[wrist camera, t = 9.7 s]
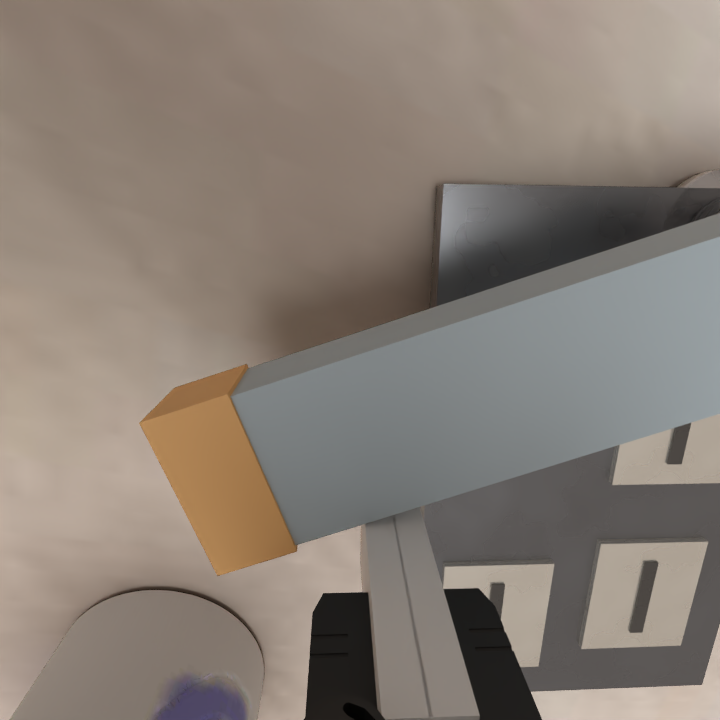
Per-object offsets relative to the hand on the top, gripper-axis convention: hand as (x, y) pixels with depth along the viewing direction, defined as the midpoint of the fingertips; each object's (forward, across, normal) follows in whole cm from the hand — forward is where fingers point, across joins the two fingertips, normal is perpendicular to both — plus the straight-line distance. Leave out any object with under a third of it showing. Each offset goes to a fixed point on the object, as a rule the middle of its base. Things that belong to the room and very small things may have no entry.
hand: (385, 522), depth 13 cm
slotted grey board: (+7, +10, -2) cm, 12 cm away
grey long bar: (0, +5, +5) cm, 7 cm away
